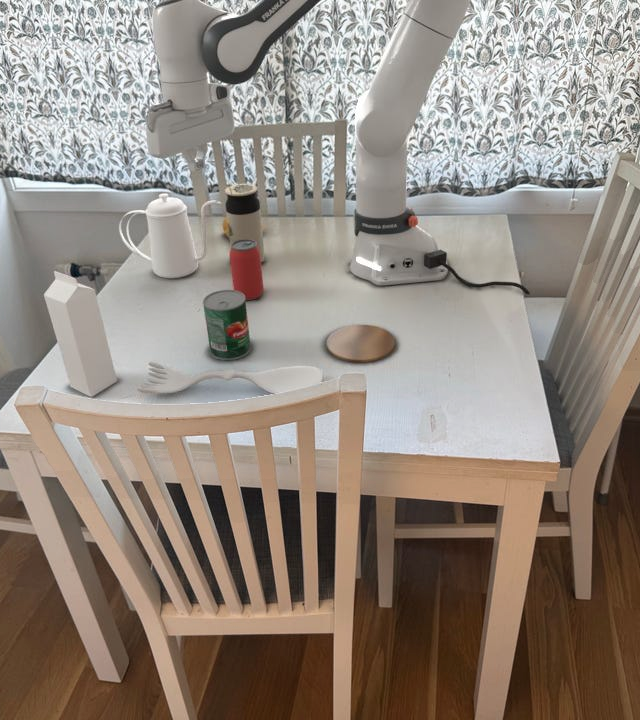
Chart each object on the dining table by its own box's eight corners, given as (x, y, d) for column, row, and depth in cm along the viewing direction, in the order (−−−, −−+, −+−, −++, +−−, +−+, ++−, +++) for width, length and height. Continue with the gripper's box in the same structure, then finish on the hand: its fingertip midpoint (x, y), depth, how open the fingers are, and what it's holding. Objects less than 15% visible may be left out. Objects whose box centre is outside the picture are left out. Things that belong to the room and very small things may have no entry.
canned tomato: (213, 339, 134) (206, 289, 128) (253, 338, 134) (247, 288, 128) (207, 361, 128) (199, 309, 122) (248, 360, 127) (242, 308, 121)
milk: (96, 372, 127) (68, 263, 115) (117, 381, 124) (91, 271, 112) (69, 387, 123) (38, 277, 111) (91, 398, 119) (60, 285, 108)
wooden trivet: (393, 327, 135) (393, 324, 134) (395, 362, 124) (395, 360, 124) (328, 327, 136) (328, 324, 136) (324, 362, 125) (324, 359, 125)
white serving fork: (152, 374, 125) (148, 359, 123) (325, 373, 122) (324, 357, 120) (138, 404, 117) (135, 387, 115) (323, 402, 115) (322, 386, 113)
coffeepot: (224, 279, 157) (214, 201, 147) (121, 280, 160) (104, 203, 150) (233, 260, 166) (224, 185, 156) (135, 260, 169) (120, 187, 159)
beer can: (270, 293, 150) (265, 242, 144) (248, 304, 146) (242, 253, 140) (249, 285, 154) (244, 235, 147) (228, 295, 150) (221, 245, 144)
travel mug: (265, 253, 169) (258, 182, 159) (264, 266, 162) (257, 193, 152) (233, 255, 169) (224, 184, 159) (231, 268, 162) (222, 195, 152)
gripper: (156, 108, 117) (169, 187, 124) (235, 85, 130) (243, 157, 137) (132, 105, 120) (146, 182, 127) (212, 83, 133) (220, 154, 141)
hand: (197, 169), depth 133 cm, fingers closed
